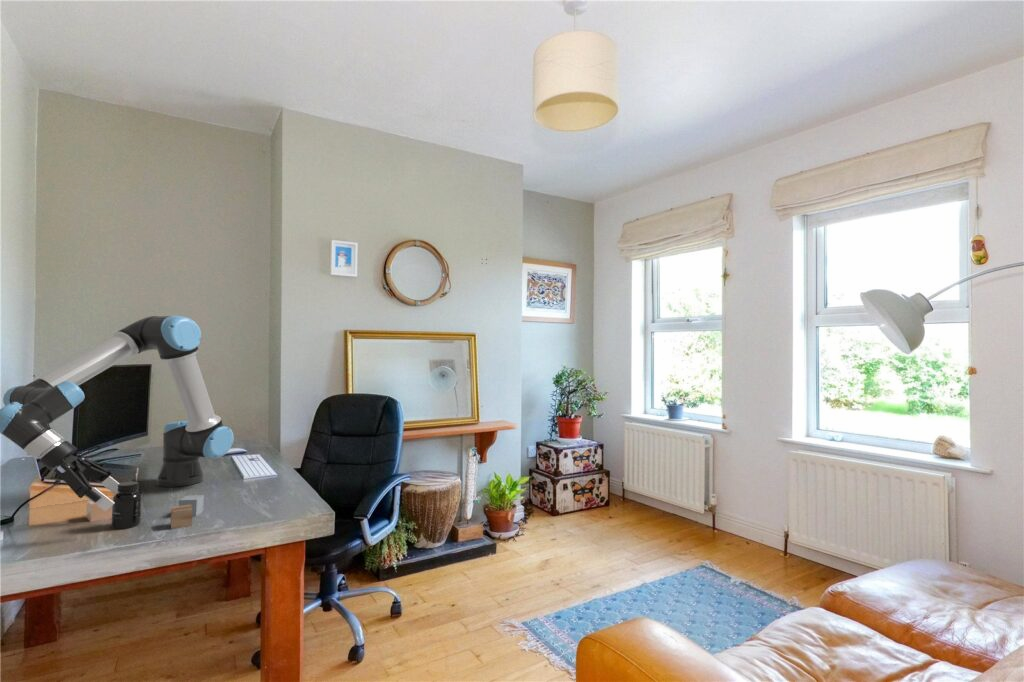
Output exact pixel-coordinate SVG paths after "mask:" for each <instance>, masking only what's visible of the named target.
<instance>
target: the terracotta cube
mask: <svg viewBox="0 0 1024 682" xmlns="http://www.w3.org/2000/svg"><path fill="white" fill-rule="evenodd" d="M86 503H87V504H86V519H87V520H88V521H89V522H96V521H102V520H107V519H108V520H109V519H112V506H111V507H110V508H109V509H107V510H106V511H104V510H103V509H101V508H100V507H99V506H97V505H96V504H95V503H93V502H92V501H91V500H87V502H86Z"/></svg>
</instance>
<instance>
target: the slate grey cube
mask: <svg viewBox="0 0 1024 682" xmlns="http://www.w3.org/2000/svg"><path fill="white" fill-rule="evenodd" d="M204 499H205V495H204V494H202V495H201V494H200V495H199V494H198V495H197V494H196V495H193V494H192V495H185V496H184V497H183V496H182V498H179V499H178V506H185V505H192V508H193V513H192V517H197V516H199V515H200V514H201V513H202V511H203V512H204V501H205V500H204Z"/></svg>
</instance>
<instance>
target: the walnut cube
mask: <svg viewBox="0 0 1024 682" xmlns="http://www.w3.org/2000/svg"><path fill="white" fill-rule="evenodd" d="M192 513H193V508H192V505H185V506H179V505H178V506H171V508H170V530H176V529H177V530H178V529H182V528H183V527H184V528H190V527H189V526H191V527H193V516H192ZM184 528H183V529H184Z"/></svg>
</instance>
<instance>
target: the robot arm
mask: <svg viewBox="0 0 1024 682" xmlns="http://www.w3.org/2000/svg"><path fill="white" fill-rule="evenodd" d="M201 339H202V331H201V328H200V326H199V324H198V323H196V321H194V320H193V319H191V318H189V317H187V316H181V315H166V316H165V315H164V316H158V315H154V316H153V315H152V316H148V317H147V316H146V317H144V318H141V319H138V320H136V321H135V322H132V323H130V324H128V325H127V326H125V327H123V328H121V329H119V330H118V331H116V332H114V333H113V336H112V338H110V339H108V340H106V341H105V342H103V343H101V344H98V345H97V346H96V347H93V348H92V349H89V350H88V351H86V352H85V353H83V354H80V355H79V356H77V357H75V358H73V359H72V360H70V361H68V362H66V363H64V364H63V365H61V366H59V367H58V368H55V369H54V370H52V371H49V372H48V373H46V374H44V375H42V376H40V377H38V378H37V379H35V380H33V381H31V382H28V384H26V385H24V384H23V385H17V386H13V387H11V388H9V389H8V390H6V391H5V393H4V394H3V397H2V402H3V405H4V406H2V407H1V408H0V434H1V435H2V436H4V437H6V438H7V439H8V440H10V441H11V442H13V443H14V444H15V445H17V446H18V447H20V448H21V450H23V451H25V452H26V456H28V457H29V456H31V457H32V458H34V459H35V460H38V459H39V464H41V465H43V466H44V467H45V468H46V469H48V470H53V471H54V472H55V474H57V475H58V476H59V477H61V479H62V480H63V481H64V482H65V483H66V485H67V486H68V487H69V488H70V489H71V490H72V491H73V493H74V494H75V495H76V496H77V497H78V498H79V499H82V498H83V497H85V498H87V499H88V501H92V502H93V503H95V504H96V505H97V506H99V507H100V508H101V509H103V510H104V511H106V510H107V509H109V508H110V507H111V506H112V505H113V504H114V503H115V502H113V499H110V497H108V496H106V494H104V493H103V492H101V491H100V490H99V489H98V488H96V487H92V485H91V484H90V481H88V479H87V478H86V477H89V478H91V479H94V480H96V481H98V482H100V484H101V485H102V486H103V487H104V488H106V489H107V490H108V491H110V492H111V493H112V494H113V495H116V494H117V493H118V491H117V489H118V484H120V483H119V481H117V480H116V479H114V477H112V476H111V475H112V474H113V473H112V471H109V470H108V469H106V468H104V467H102V466H100V465H98V464H96V463H95V462H93V461H91V460H89V459H87V458H86V457H85V456H83V455H82V454H81V453H79V454H78V455H77V456H75V455H73V454H74V453H76V451H77V450H78V449H77V447H76V446H75V445H73V444H72V443H71V442H70V441H68V440H64V439H65V437H63V435H61V434H59V433H58V431H55V430H54V429H53V428H52V427H50V424H51V423H53V422H54V421H55V420H58V419H59V418H60V417H62V416H64V415H65V414H66V413H68V412H70V411H71V410H72V409H75V408H76V407H77V406H78V405H80V404H81V403H82V402H84V400H85V393H84V391H83V390H82V388H80V385H82V384H84V383H86V382H87V381H89V380H91V379H93V378H94V377H95V376H97V375H99V374H101V373H103V372H105V371H106V370H108V369H109V368H111V367H112V366H115V365H116V364H117V363H120V362H121V361H124V359H126V358H128V357H136V356H137V355H140V354H141V353H143V352H147V351H152V350H153V351H154V350H155V351H157V353H158V355H159V356H158V357H159V358H160V360H161V361H163V362H166V363H167V365H168V367H169V372H170V374H171V376H172V379H173V382H174V385H175V388H176V391H177V394H178V396H179V399H180V402H181V406H182V408H183V411H184V415H185V417H186V420H183V421H182V420H181V421H174V422H168V423H166V424H165V425H164V427H163V434H162V435H163V436H162V437H163V443H162V445H163V447H162V448H163V449H162V464H161V467H160V468H159V469H160V470H159V471H158V474H157V476H156V484H155V485H156V486H158V487H162V488H163V487H164V488H166V487H167V488H169V487H170V488H174V487H175V488H176V487H183V486H185V487H186V486H190V485H195V484H200V483H202V482H203V481H204V479H205V473H204V470H203V468H202V464H201V461H200V458H207V459H219V458H222V457H223V456H225V455H226V454H228V452H229V451H230V450H231V448H232V446H233V444H234V440H235V436H234V432H233V430H232V428H230V427H228V426H226V425H225V426H224V423H223V420H222V418H221V416H219V415H217V414H215V411H214V407H213V405H212V402H211V400H210V399H211V398H210V396H209V393H208V390H207V386H206V383H205V381H204V378H203V374H202V371H201V368H200V365H199V362H198V360H197V357H196V355H197V354H198V352H199V345H200V343H201Z"/></svg>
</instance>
